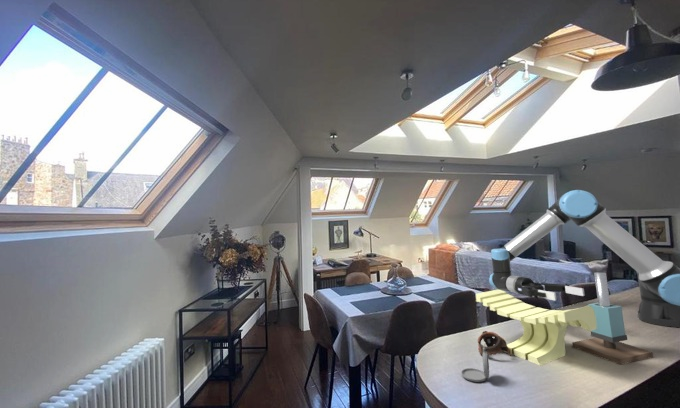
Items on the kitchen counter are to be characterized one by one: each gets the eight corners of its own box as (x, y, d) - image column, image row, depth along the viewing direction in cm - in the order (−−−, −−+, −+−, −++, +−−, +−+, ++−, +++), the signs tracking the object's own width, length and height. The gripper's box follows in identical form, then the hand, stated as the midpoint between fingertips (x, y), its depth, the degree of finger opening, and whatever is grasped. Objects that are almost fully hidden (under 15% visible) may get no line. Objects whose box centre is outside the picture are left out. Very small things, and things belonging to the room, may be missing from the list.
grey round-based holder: (457, 372, 86) (454, 338, 87) (483, 370, 87) (480, 336, 88) (472, 387, 78) (468, 349, 79) (501, 384, 79) (497, 346, 80)
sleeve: (604, 328, 98) (600, 302, 99) (625, 334, 93) (621, 306, 93) (591, 331, 97) (587, 304, 98) (612, 337, 91) (608, 308, 92)
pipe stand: (602, 340, 103) (592, 268, 105) (653, 356, 89) (640, 273, 92) (572, 346, 99) (563, 272, 102) (620, 364, 86) (608, 278, 88)
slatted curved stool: (601, 363, 87) (593, 303, 89) (572, 377, 80) (564, 312, 82) (508, 333, 114) (503, 288, 116) (480, 342, 107) (475, 293, 109)
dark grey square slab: (604, 333, 98) (604, 328, 99) (627, 339, 92) (626, 334, 92) (591, 335, 97) (590, 331, 97) (613, 342, 91) (612, 337, 91)
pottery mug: (519, 361, 92) (509, 341, 91) (493, 374, 93) (482, 355, 92) (498, 338, 104) (489, 320, 103) (475, 349, 105) (465, 332, 104)
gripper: (544, 290, 129) (596, 300, 109) (498, 297, 123) (544, 309, 103) (541, 273, 130) (593, 280, 110) (496, 279, 124) (541, 288, 103)
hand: (569, 294), depth 106 cm, fingers open, 13 cm apart
